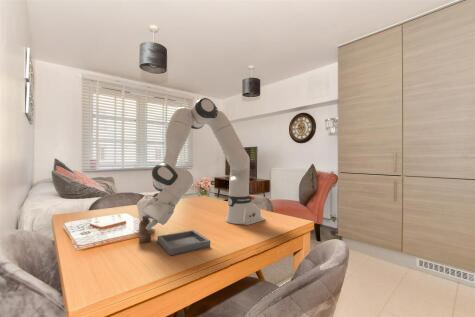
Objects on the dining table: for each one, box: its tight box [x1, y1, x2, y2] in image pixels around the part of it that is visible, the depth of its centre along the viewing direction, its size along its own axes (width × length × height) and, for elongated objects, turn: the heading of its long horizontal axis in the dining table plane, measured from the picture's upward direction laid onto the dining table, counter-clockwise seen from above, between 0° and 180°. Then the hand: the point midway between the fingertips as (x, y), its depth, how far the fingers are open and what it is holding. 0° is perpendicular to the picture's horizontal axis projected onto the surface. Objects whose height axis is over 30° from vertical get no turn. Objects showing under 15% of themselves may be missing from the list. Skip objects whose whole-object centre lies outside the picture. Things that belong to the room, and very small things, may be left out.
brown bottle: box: [138, 215, 152, 244], centre depth 99 cm, size 5×5×11 cm
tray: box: [156, 229, 211, 257], centre depth 96 cm, size 16×16×2 cm
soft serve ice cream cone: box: [136, 194, 152, 222], centre depth 119 cm, size 8×8×16 cm
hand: (143, 227), depth 99 cm, fingers open, 5 cm apart
